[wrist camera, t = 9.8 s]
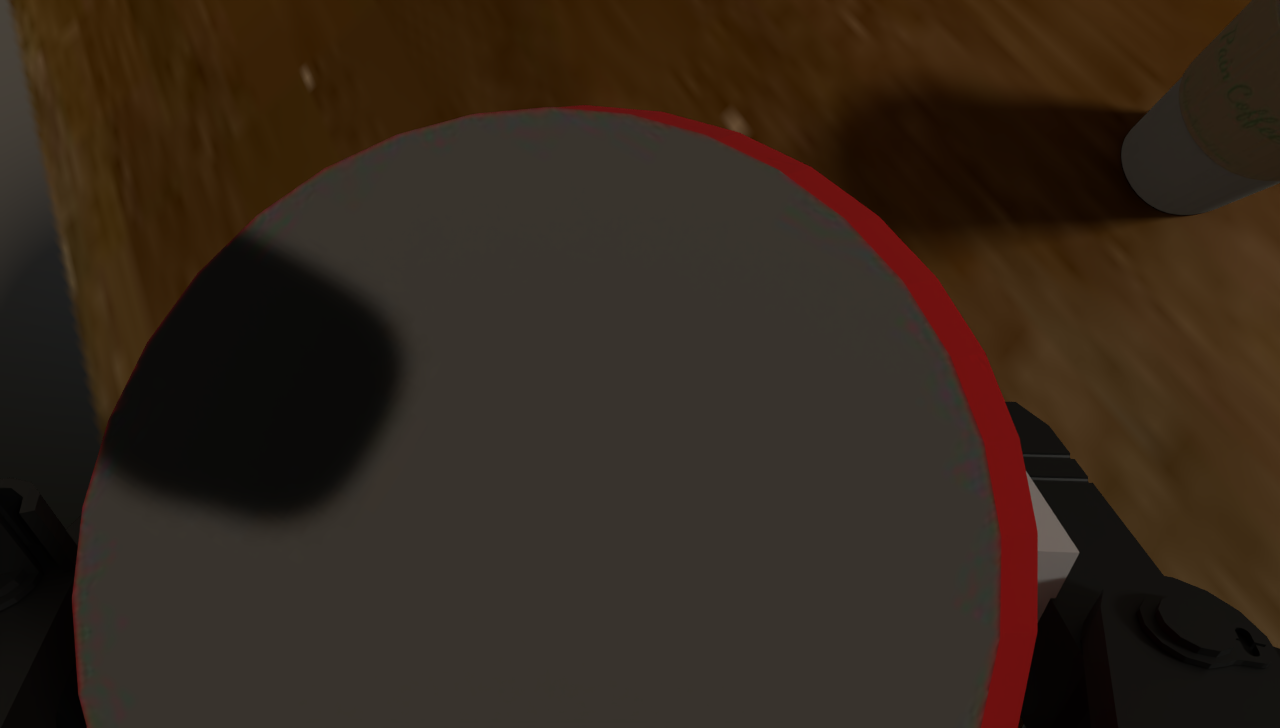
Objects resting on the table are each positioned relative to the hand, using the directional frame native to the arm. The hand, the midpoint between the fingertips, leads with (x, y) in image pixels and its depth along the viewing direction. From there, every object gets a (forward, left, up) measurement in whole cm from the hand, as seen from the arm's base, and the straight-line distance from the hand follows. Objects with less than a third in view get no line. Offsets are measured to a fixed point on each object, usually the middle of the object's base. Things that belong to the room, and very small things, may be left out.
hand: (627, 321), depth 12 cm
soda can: (0, +3, -5) cm, 6 cm away
